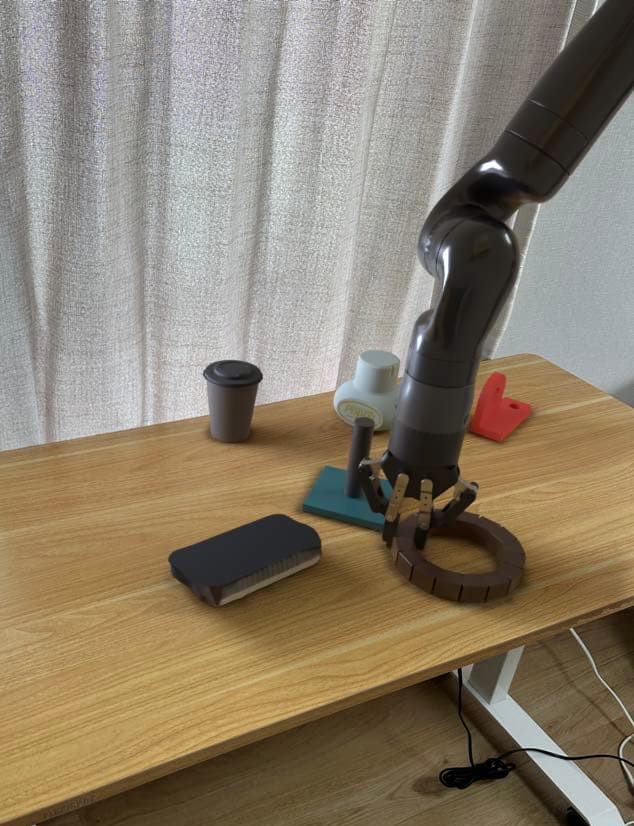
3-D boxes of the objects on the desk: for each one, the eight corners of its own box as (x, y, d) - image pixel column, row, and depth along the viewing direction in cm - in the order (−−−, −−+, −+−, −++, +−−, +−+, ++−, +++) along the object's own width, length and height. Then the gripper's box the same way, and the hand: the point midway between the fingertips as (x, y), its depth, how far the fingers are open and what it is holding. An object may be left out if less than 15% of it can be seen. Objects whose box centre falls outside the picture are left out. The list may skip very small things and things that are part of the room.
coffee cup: (241, 453, 108) (245, 385, 102) (190, 436, 112) (191, 369, 106) (269, 429, 114) (274, 363, 108) (219, 413, 117) (222, 349, 111)
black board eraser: (207, 620, 82) (208, 593, 79) (162, 576, 87) (162, 549, 85) (327, 567, 90) (331, 540, 87) (280, 529, 95) (283, 503, 93)
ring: (526, 542, 95) (531, 527, 94) (513, 617, 84) (519, 601, 83) (405, 512, 99) (408, 497, 98) (378, 580, 88) (382, 564, 87)
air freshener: (322, 421, 117) (330, 356, 111) (347, 400, 122) (357, 338, 116) (391, 444, 112) (404, 378, 106) (414, 422, 118) (427, 358, 112)
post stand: (399, 489, 103) (415, 412, 96) (382, 531, 96) (397, 451, 89) (324, 471, 106) (335, 395, 99) (301, 510, 98) (311, 431, 92)
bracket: (499, 441, 114) (513, 391, 110) (470, 431, 116) (483, 380, 112) (531, 412, 122) (546, 364, 117) (503, 403, 124) (517, 355, 119)
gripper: (504, 411, 84) (467, 544, 94) (374, 384, 88) (352, 515, 98) (495, 444, 78) (457, 581, 89) (357, 414, 82) (336, 549, 92)
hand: (402, 546), depth 93 cm, fingers closed on ring, 2 cm apart
